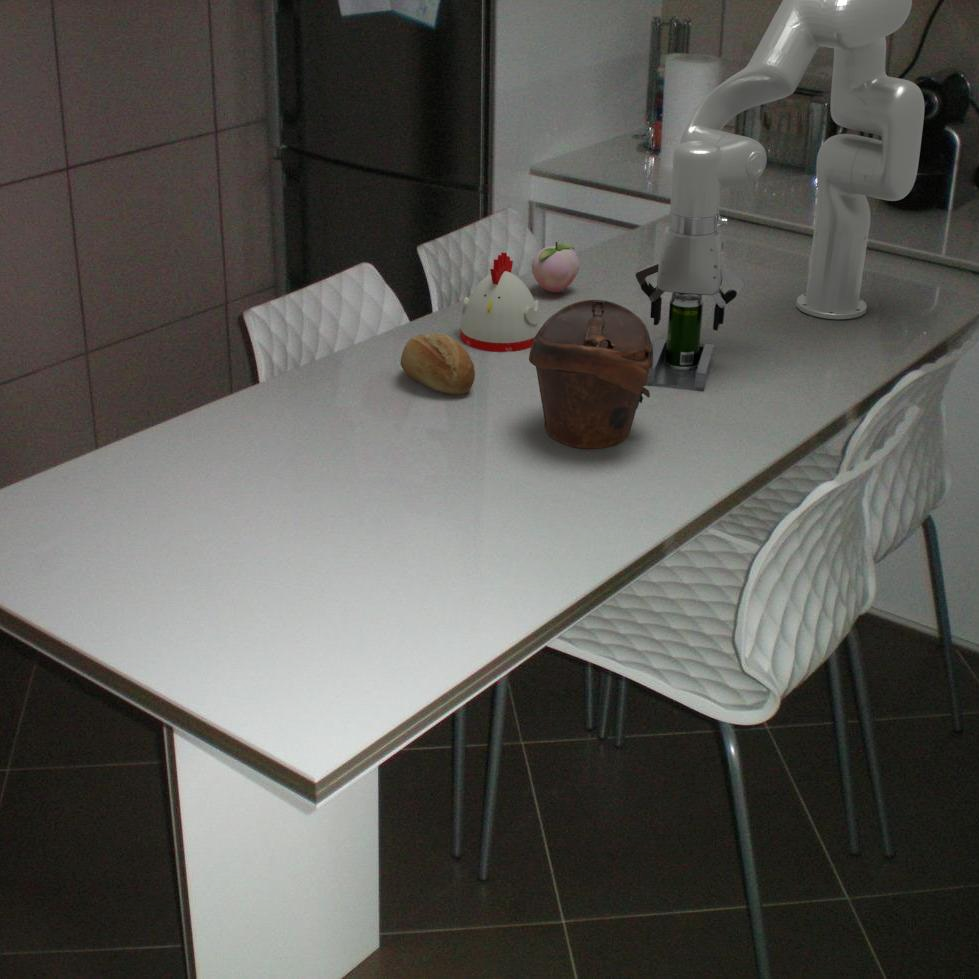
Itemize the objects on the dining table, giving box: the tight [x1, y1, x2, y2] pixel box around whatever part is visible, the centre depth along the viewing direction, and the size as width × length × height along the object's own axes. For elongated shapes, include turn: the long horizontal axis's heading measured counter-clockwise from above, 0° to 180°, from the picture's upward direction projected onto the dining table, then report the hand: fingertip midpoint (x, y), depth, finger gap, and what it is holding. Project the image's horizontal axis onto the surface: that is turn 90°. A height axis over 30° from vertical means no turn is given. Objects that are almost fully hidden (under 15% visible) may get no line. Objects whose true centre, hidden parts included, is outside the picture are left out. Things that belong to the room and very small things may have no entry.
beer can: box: [666, 292, 704, 370], centre depth 224 cm, size 5×5×12 cm
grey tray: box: [646, 338, 715, 392], centre depth 225 cm, size 13×10×3 cm
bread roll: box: [400, 333, 476, 395], centre depth 218 cm, size 10×15×8 cm, turn 39°
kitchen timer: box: [460, 251, 542, 353], centre depth 235 cm, size 14×14×15 cm
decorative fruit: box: [531, 241, 581, 294], centre depth 257 cm, size 9×8×10 cm
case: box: [528, 299, 654, 450], centre depth 201 cm, size 18×20×18 cm
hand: (686, 324), depth 224 cm, fingers open, 9 cm apart
